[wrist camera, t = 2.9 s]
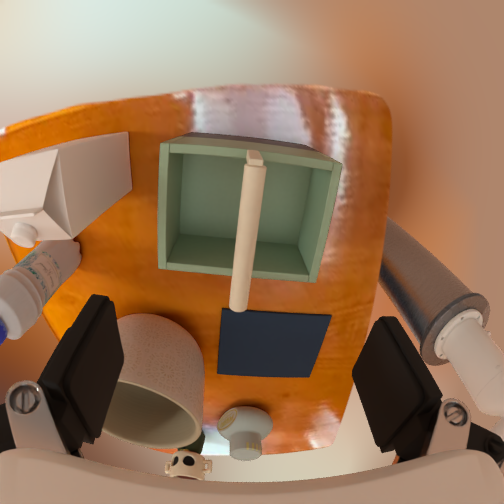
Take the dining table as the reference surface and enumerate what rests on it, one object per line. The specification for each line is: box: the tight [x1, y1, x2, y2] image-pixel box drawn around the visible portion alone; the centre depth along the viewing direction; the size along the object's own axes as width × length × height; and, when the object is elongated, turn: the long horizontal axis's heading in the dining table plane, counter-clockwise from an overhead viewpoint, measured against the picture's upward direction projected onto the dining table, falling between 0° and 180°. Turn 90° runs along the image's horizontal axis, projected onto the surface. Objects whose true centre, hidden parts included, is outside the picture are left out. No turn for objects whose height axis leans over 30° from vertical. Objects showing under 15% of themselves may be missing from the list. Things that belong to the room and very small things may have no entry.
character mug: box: [165, 431, 212, 481], centre depth 51 cm, size 11×7×13 cm, turn 106°
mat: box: [217, 308, 332, 377], centre depth 44 cm, size 16×14×1 cm
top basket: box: [158, 136, 342, 312], centre depth 22 cm, size 13×10×12 cm
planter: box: [102, 313, 205, 449], centre depth 37 cm, size 17×17×15 cm
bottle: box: [0, 239, 82, 345], centre depth 27 cm, size 7×7×20 cm
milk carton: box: [0, 132, 132, 248], centre depth 23 cm, size 7×7×19 cm
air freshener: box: [217, 406, 273, 461], centre depth 49 cm, size 11×8×10 cm
